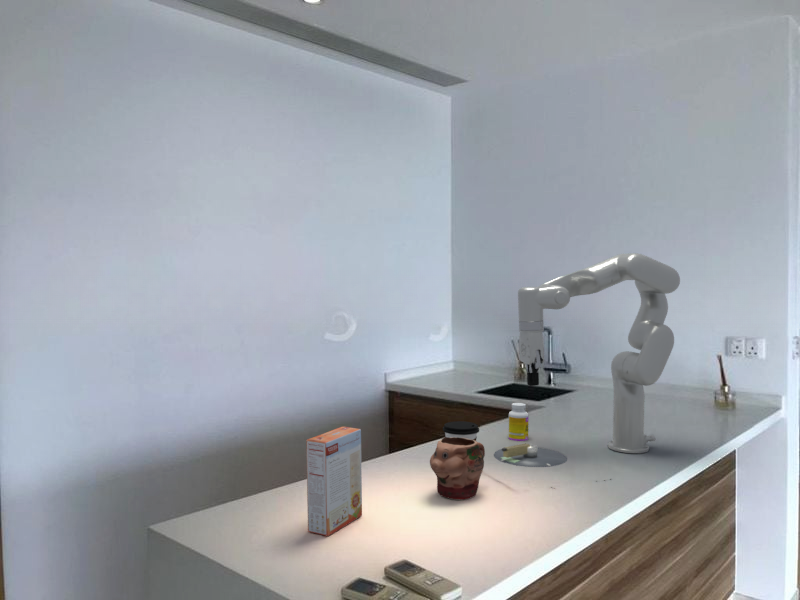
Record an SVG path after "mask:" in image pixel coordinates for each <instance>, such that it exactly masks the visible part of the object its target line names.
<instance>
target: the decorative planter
mask: <svg viewBox="0 0 800 600" xmlns="http://www.w3.org/2000/svg"><path fill="white" fill-rule="evenodd" d="M485 455H486V450H485V446H484V444H483V443H481V442H478V441H477V440H476V441H475V440H471V439H467V438H458V437H450V438H449V437H445V436H444V437H443V438H441V439H440V440H438V441H437V444H436V448H435V451H434V452H433V454H432V455H431V456H430V459H429V465H430V469H431V470H432V472H434V474H435V476H436V480H437V482H436V483H437V484H436V491H437V494H438V495H439V496H441V497H444V498H446V499H450V500H458V501H461V500H463V501H464V500H468V499H473V498H474V497H475V496H476V495H477V492H478V489H479V484H480V478H481V475H482V472H483V470H484V467H485V466H484V465H485V461H484V460H485V459H484V458H485Z"/></svg>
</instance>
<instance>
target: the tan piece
mask: <svg viewBox="0 0 800 600" xmlns="http://www.w3.org/2000/svg"><path fill="white" fill-rule="evenodd" d="M537 448H539V447H538V445H537V444H534V443H520V444H516V445H515V444H514V445H510V446H505V447H503V448H501V449H502V451H503V456H504V457H507V458H509V457H513V456H518V455H523V456H525V457H537Z"/></svg>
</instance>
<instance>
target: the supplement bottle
mask: <svg viewBox="0 0 800 600" xmlns="http://www.w3.org/2000/svg"><path fill="white" fill-rule="evenodd" d="M507 433H508V434H507V435H508V437H507V438H508V439H509V440H511V441H516V442H522V441H523V442H525V441H528V440H529V413H528V412H527V411H526V403H523V402H514V403H511V411H509V413H508V432H507Z"/></svg>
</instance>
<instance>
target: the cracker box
mask: <svg viewBox="0 0 800 600" xmlns="http://www.w3.org/2000/svg"><path fill="white" fill-rule="evenodd" d="M305 441H306V443H305V445H306V449H305V451H306V452H305V453H306V487H307V489H306V490H307V491H306V495H307V496H306V497H307V498H306V499H307V532H308V533H312V534H316V535H321V536H324V537H329V536H331V535H332V534H334V533H336V532H337V531H339V530H340V529H342V528H344V527H346V526H348V525H349V524H350V523H353V522H354V521H355V520H358V519H359V518H361V517H362V516H363V489H362V487H363V486H362V485H363V483H362V478H363V477H362V430H361V428H355V427H350V426H340V427H337V428H334V429H332V430H329V431H327V432H324V433H322V434H318V435H316V436H314V437H310V438H308V439H306V440H305Z"/></svg>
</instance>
